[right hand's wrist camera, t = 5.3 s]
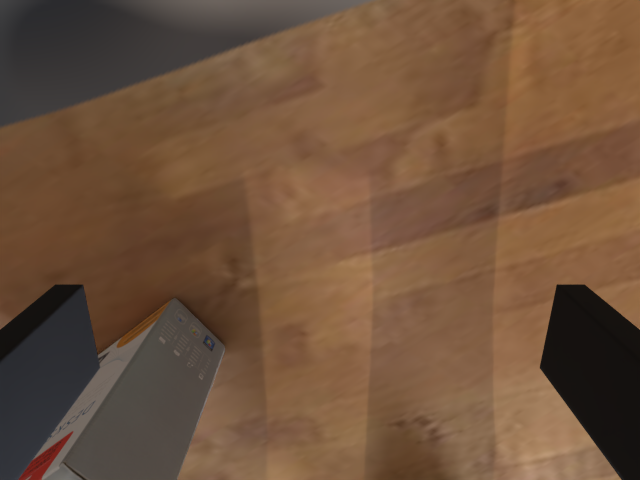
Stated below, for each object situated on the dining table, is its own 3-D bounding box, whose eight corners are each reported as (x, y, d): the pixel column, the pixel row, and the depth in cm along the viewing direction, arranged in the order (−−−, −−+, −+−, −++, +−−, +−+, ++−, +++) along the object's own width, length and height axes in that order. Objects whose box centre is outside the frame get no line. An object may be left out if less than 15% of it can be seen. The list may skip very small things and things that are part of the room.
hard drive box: (174, 292, 44) (66, 461, 25) (228, 346, 46) (165, 538, 27) (67, 375, 47) (-99, 578, 28) (122, 421, 49) (1, 638, 30)
